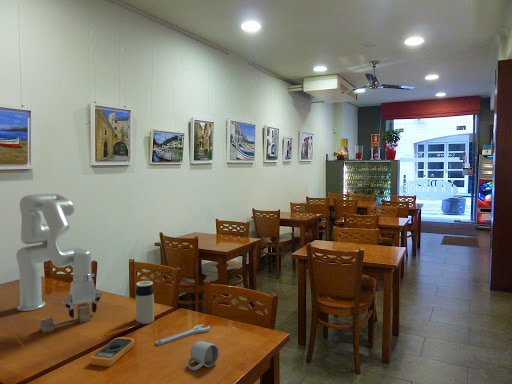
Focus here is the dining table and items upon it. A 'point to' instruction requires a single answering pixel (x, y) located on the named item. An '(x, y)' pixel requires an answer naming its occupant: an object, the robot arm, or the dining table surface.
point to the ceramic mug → (203, 355)
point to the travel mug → (144, 302)
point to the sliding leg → (83, 312)
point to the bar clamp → (52, 324)
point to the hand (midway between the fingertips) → (83, 314)
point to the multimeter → (112, 352)
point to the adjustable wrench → (184, 334)
